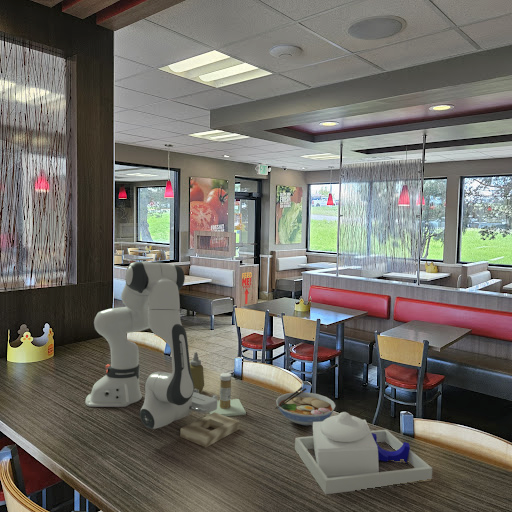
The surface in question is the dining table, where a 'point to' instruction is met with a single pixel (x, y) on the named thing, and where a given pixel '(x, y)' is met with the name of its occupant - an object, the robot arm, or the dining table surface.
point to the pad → (234, 409)
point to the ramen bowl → (305, 407)
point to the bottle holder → (206, 437)
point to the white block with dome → (345, 446)
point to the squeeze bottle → (197, 373)
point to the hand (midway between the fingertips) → (206, 393)
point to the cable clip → (393, 452)
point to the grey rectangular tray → (363, 480)
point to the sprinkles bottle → (225, 390)
